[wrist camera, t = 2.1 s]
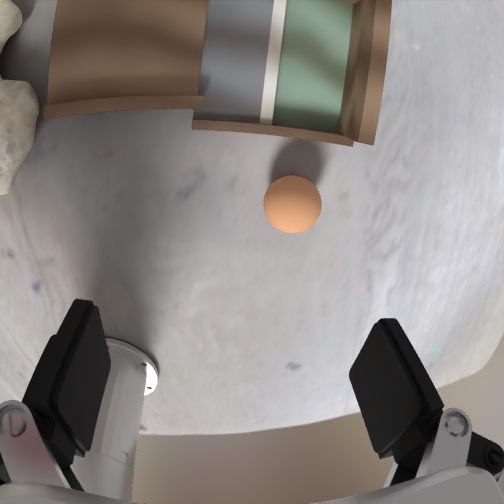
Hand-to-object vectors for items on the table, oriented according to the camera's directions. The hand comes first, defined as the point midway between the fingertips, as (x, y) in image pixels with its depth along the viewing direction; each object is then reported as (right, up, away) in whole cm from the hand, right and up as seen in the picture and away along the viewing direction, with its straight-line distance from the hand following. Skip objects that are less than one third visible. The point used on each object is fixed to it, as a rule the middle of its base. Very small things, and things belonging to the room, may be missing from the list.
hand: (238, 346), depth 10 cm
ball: (+4, +8, +19) cm, 21 cm away
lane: (-3, +20, +11) cm, 23 cm away
